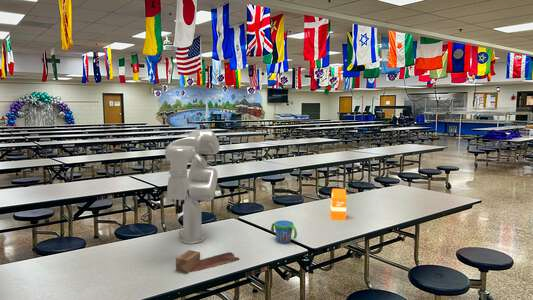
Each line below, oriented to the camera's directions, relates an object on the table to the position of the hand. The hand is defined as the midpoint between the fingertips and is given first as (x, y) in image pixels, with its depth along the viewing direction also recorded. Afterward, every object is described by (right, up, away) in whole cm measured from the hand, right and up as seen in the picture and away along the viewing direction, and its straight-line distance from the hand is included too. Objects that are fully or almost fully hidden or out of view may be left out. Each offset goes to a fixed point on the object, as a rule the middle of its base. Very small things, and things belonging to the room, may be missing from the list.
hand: (179, 212), depth 169 cm
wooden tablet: (+15, -24, -1) cm, 28 cm away
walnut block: (+6, -23, -7) cm, 25 cm away
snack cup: (+50, -20, +27) cm, 60 cm away
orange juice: (+88, -16, +69) cm, 113 cm away
